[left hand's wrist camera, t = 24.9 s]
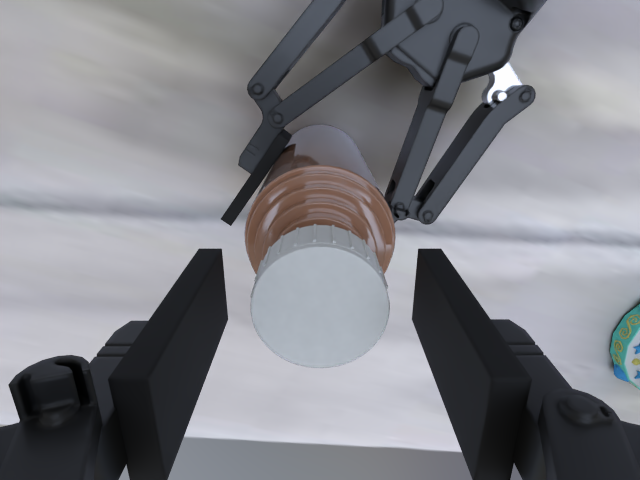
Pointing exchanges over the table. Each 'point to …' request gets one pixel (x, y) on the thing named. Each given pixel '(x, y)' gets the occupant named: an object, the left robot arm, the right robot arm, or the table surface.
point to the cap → (320, 297)
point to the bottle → (320, 195)
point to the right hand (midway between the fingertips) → (276, 245)
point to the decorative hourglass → (627, 348)
